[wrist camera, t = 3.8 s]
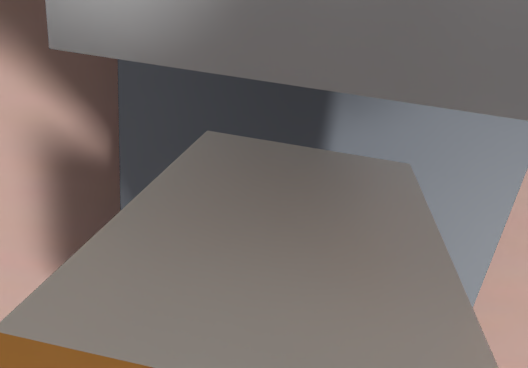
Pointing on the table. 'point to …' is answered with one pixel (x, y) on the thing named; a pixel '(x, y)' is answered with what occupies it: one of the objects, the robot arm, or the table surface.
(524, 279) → the table surface
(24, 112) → the table surface
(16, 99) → the table surface
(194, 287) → the block
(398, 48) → the block
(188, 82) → the board
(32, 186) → the table surface
